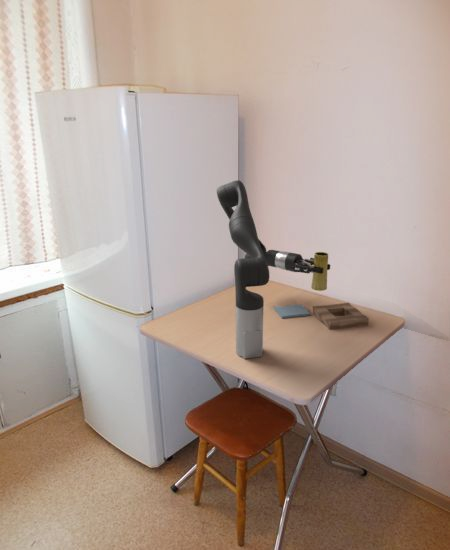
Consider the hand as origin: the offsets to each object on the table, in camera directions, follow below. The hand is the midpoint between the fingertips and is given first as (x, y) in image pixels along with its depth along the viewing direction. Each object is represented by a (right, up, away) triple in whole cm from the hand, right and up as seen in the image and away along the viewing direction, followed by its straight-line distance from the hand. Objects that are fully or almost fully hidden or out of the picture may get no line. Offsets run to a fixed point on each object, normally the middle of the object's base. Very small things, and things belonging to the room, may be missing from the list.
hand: (326, 269), depth 164 cm
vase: (-2, -8, +4) cm, 9 cm away
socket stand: (+6, -20, +5) cm, 21 cm away
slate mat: (-12, -18, +12) cm, 24 cm away
